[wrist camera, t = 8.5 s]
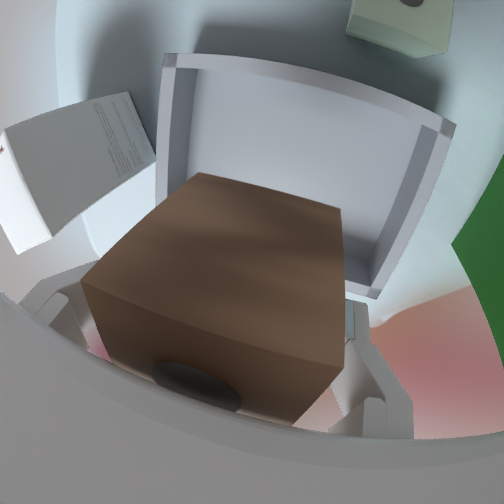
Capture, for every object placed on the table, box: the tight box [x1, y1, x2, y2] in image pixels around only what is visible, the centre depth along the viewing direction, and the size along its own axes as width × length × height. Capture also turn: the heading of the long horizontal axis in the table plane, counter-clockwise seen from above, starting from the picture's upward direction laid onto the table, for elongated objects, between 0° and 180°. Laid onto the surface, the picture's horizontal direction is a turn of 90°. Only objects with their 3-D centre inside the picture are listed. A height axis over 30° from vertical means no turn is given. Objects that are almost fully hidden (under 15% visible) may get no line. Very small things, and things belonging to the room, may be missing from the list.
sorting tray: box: [156, 53, 456, 299], centre depth 18 cm, size 18×14×4 cm
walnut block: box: [80, 172, 345, 426], centre depth 8 cm, size 5×5×6 cm
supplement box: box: [0, 91, 156, 254], centre depth 17 cm, size 7×7×13 cm
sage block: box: [345, 0, 454, 59], centre depth 9 cm, size 5×5×6 cm
